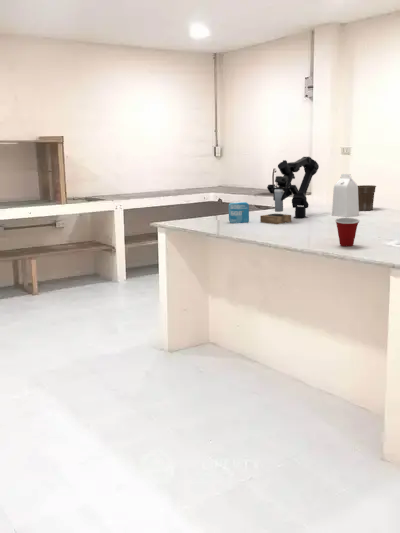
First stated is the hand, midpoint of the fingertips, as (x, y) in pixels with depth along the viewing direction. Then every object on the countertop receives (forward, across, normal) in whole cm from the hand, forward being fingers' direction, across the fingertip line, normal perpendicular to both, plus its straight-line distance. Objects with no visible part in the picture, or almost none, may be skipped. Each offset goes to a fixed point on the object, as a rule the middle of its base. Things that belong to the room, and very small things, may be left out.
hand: (277, 200), depth 334 cm
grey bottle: (+4, 0, +6) cm, 7 cm away
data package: (+14, -24, +6) cm, 28 cm away
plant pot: (-44, +20, +65) cm, 81 cm away
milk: (-23, +21, +43) cm, 53 cm away
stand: (+6, -4, +13) cm, 15 cm away
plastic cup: (+44, +66, -26) cm, 83 cm away
